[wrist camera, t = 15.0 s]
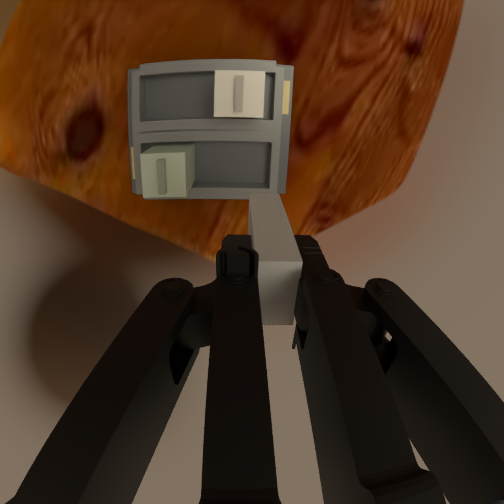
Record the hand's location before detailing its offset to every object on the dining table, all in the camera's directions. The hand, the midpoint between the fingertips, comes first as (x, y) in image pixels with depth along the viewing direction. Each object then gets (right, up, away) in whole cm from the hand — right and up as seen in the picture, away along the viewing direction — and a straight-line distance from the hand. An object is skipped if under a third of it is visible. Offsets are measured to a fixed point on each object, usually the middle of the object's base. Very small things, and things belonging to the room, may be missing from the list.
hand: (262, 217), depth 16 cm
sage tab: (-8, +8, +14) cm, 18 cm away
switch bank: (-5, +11, +14) cm, 19 cm away
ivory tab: (-2, +14, +11) cm, 18 cm away
